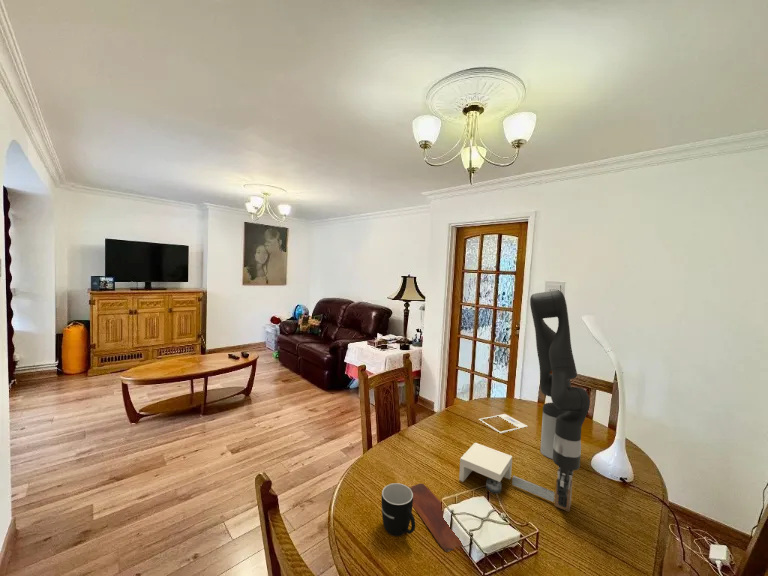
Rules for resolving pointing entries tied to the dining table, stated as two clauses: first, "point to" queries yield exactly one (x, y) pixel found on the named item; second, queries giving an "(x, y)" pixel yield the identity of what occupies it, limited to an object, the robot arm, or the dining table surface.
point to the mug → (397, 509)
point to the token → (493, 486)
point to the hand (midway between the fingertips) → (563, 501)
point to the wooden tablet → (434, 517)
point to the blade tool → (542, 491)
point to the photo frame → (509, 419)
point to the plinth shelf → (485, 463)
